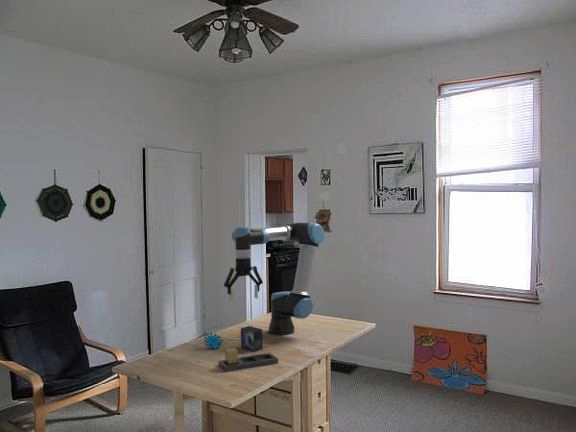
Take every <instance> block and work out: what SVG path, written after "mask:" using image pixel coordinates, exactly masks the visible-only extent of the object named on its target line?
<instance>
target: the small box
mask: <svg viewBox="0 0 576 432" xmlns="http://www.w3.org/2000/svg"><path fill="white" fill-rule="evenodd" d="M263 344H264V343H263V329H262V328H259V327H254V326H251V325H248V326H245V327H240V348H241V349H244V350H248V351H251V352H258V351H260V350H263V349H264V346H263Z"/></svg>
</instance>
